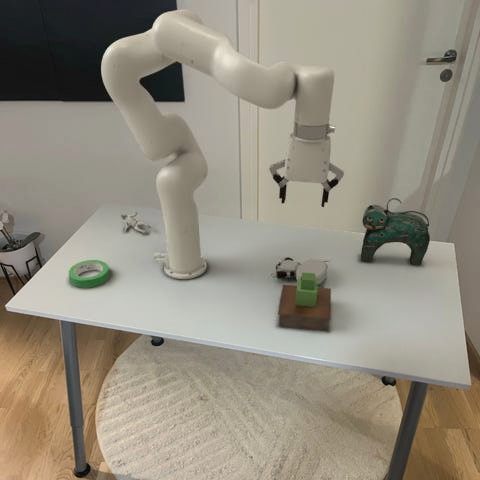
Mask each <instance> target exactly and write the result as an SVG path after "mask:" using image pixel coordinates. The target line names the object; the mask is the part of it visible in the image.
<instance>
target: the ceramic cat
mask: <svg viewBox="0 0 480 480" xmlns="http://www.w3.org/2000/svg"><path fill="white" fill-rule="evenodd" d="M393 200H395V201H398V202H399V203H400V204H402V201H401V199H399V198H398V197H397V198H396V197H392V198H390V199H388V201H387V203H386V208H384V207H383V206H382V205H378V204H370V205H369V206H367V207H366V208H365V209H364V212H363V215H362V220H361V222H362V225H363V227H364V228H365V229H366V230H365V233H364V236H363V240H362V246H361V250H360V251H361V253H360V260H361V262H364V263H365V262H367V263H370V262H372V260H373V258H374V256H375V253H376V252H377V250H379V248H381V247H382V246H383V245H386V244H389V243H400V244H401V243H402V244H405V245H406V246H408V247H409V249H410V254H409V258H408V260H409V264H410V265H412V266H420V265H422V262H423V260H424V257H425V256H426V253H427V252H428V248H429V245H430V241H431V236H430V233H429V226H430V221H429V218H428V217H427V215H426V214H424V213H422V212H420V211H416V210H405V211H393V212H392V211H390V210H389V203H390V202H391V201H393ZM420 215H421V216H423V218H424V219H426V221H425V220H424V219H423V218H422V217H421V216H420ZM426 222H427V223H426Z"/></svg>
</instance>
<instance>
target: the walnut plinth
mask: <svg viewBox="0 0 480 480" xmlns="http://www.w3.org/2000/svg"><path fill="white" fill-rule="evenodd" d="M296 292H297V284H296V285H294V284H282V287H281V293H280V300H279V306H278V313H277V314H278V316H279V317H278V327H281V328H291V329H301V330H313V331H320V332H321V331H323V332H328V328H329V322H330V321H329V320H331V317H332V316H331V315H332V314H331V313H332V309H331V308H332V307H331V305H332V303H331V302H332V301H331V299H332V288H331V287H330V288H329V287H318V288H317V299H316V307H310V306H299V305H295V303H296Z"/></svg>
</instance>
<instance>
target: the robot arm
mask: <svg viewBox="0 0 480 480" xmlns="http://www.w3.org/2000/svg"><path fill="white" fill-rule="evenodd" d="M176 62H178V63H179V64H182V65H185V66H187V67H189V68H191V69H193V70H196V71H198V72H200V73H202V74H204V75H207V76H209V77H211V78H213V79H214V80H215V81H216V83H218V85H220V86H222V87H223V88H224V89H225V90H226V91H228V92H229V93H230V94H232V95H233V96H235V97H236V98H239V99H241V100H243V101H245V102H247V103H250V104H251V105H254V106H256V107H259V108H262V109H266V110H276V109H279V108H281V107H282V106H284V105H285V104H286V103H287V102H288V101H291V100H295V106H294V107H295V108H294V117H293V118H294V119H293V131H292V132H291V133H290V135H289V137H288V142H287V146H286V153H285V158H284V159H283V160H280V161H278V162H275V163H272V164H271V165H270V166H269V167H268V169H269V172H270V174H271V176H272V179H273V180H274V182H275V183H276V184H277V185H278V187H279V195H278V198H279V199H281V201H280V203H281V204H285V203H286V197H287V187H288V185H287V184H288V183H289V182H290V181H291V182H297V183H298V182H299V183H311V184H312V183H313V184H321V186H322V197H321V205H320V206H321V208H325V204H326V203H329V196H330V192H331V190H332V189H333V188H335V187H336V186H338V185H339V183H340V181H341V180H342V179H343V178H344V176H345V171H344V170H343V169H341V168H339V167H338V166H336V165H335V164H333V163H331V152H332V151H331V149H332V148H331V147H332V146H331V145H332V144H331V142H332V141H331V135H329V134H334V133H335V130H336V129H335V127H336V126H335V125H331V124H330V115H331V107H332V100H333V91H334V85H335V72H334V70H333V69H331V68H330V67H328V66H322V65H308V66H307V65H303V64H299V63H296V62H292V61H286V60H284V61H279V62H276V63H274V64H272V65H271V66H269V67H267V66H265V65H263V64H260V63H258V62H256V61H254V60H251V59H249V58H248V57H246V56H245V55H242V54H241V53H240V52H238V50H237V49H236V48H235V47H234V45H233V43H232V39H231V38H230V37H229V36H228V35H227V34H225V33H223V32H220V31H218V30H216V29H213V28H211V27H209V26H207V25H204V22H203V20H202V19H201V17H200V16H199V14H196V12H194V11H192V10H190V9H186V8H181V9H176V10H171V11H166V12H164V13H162V14H160V15H159V16H157V17H156V19H155V21H154V22H153V24H152V27H151V28H150V29H148V30H147V31H144V32H142V33H138V34H134V35H130V36H125V37H122V38H120V39H118V40H115V41H114V42H113V43H111V44H110V45H109V46H108V47H107V49H106V50H105V52H104V53H103V55H102V59H101V65H100V71H101V78H102V82H103V83H102V84H103V85H104V87H105V89H106V91H107V93H108V95H109V97H110V98H111V100H112V101H113V103H114V105H115V106H116V108H117V109H118V110H119V112H120V114H121V115H122V117H123V119H124V121H125V123H126V125H127V127H128V128H129V130H130V132H131V134H132V136H133V138H134V139H135V141H136V143H137V144H138V146H139V148H140V150H141V151H142V153H143V154H144V156H145V157H146V158H147V159H149V160H150V161H152V162H160V161H164V160H166V159H167V158H168V157H169V159H170V161H169V162H167V163H166V164H164V166H162V168H161V169H160V170H159V172H158V173H157V175H156V180H155V188H156V191H157V195H158V197H159V201H160V205H161V210H162V211H161V212H162V219H163V226H164V235H165V242H166V243H165V244H166V251H165V252H160V251H159V252H158V251H155V252H154V259H155V262H156V263H160V264H161V263H162V264H163V270H164V273H165V274H166V275H167V276H169V277H170V278H172V279H177V280H191V279H194V278H197V277H200V276H201V275H203V274H204V273H205V272H206V270H207V261H206V259H204V258H203V257H202V256H201V255H202V254H201V241H200V223H199V211H198V206H197V203H196V200H195V199H194V192H195V191H196V190H197V189H198V188H199V187H200V186H201V185H202V184H203V183H204V182H205V181H206V179H207V177H208V174H209V167H208V163H207V160H206V158H205V155H204V153H203V152H202V149H201V147H200V145H199V144H198V142H197V139H196V137H195V135H194V133H193V132H192V130H191V128H190V126H189V124H188V123H187V121H186V120H185V119H184V118H183V117H182V116H181V115H180V114H177V113H176V112H174V111H173V112H172V111H166V112H160V110H159V108H158V106H157V104H156V102H155V100H154V98H153V96H152V95H151V94H150V92H149V91H148V90H147V89H146V88H145V87H144V86H143V85H142V84H141V83H140V80H141V79H142V78H144V77H148V76H149V75H153V74H154V73H157V72H160V71H161V70H163V69H165V68H167V67H168V66H170V65H172V64H174V63H176ZM282 168H284V170H283V171H284V172H283V176H281V175H280V174H279V172H278V171H279V170H281V169H282ZM329 171H330V172H331V173H332V174H334V175H335V176H334V178H332V179H331V180H329V178H328V176H329V173H330V172H329Z"/></svg>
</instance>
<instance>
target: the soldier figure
mask: <svg viewBox="0 0 480 480" xmlns="http://www.w3.org/2000/svg"><path fill="white" fill-rule="evenodd" d="M137 215H138V211H135V212H134V213H133V214H128V213H121V214H120V218H121V220H123V221H124V224H125V228H124V232H127V230H128V229H129V226H130V227H132V228H133V229H134V230H135V231H137V232H138V233H143V234H144V235H145V234H146V235H147V234H148V232H147V231H146V230H143V229H142V228H141V226H145V227H147V228H148V229H151V225H150V224H147V223H146V222H144V221H138V220H137V219H136V218H135V217H136V216H137Z"/></svg>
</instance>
